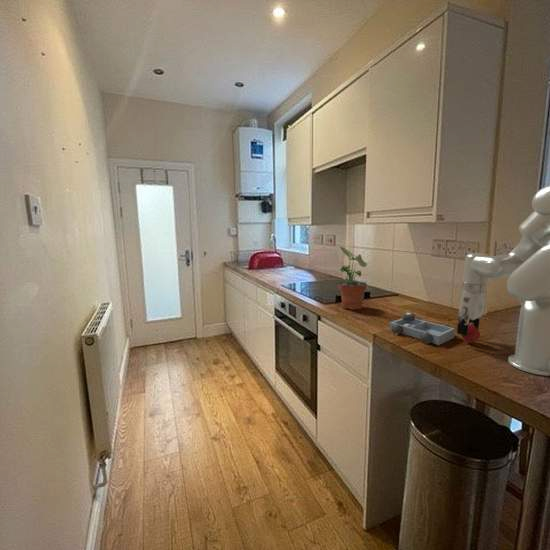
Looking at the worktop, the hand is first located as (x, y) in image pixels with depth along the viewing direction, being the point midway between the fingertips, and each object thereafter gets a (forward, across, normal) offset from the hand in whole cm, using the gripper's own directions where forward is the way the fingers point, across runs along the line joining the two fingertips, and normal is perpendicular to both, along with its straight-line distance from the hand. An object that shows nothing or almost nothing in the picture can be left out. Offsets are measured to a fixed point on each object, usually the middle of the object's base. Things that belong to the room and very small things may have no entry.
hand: (467, 331), depth 114 cm
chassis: (+5, -5, +15) cm, 16 cm away
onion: (+4, 0, -1) cm, 5 cm away
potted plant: (+7, +4, +57) cm, 57 cm away
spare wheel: (0, -5, +21) cm, 21 cm away
